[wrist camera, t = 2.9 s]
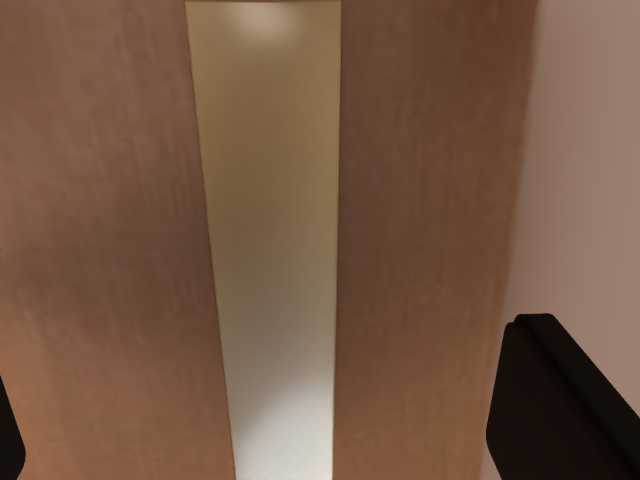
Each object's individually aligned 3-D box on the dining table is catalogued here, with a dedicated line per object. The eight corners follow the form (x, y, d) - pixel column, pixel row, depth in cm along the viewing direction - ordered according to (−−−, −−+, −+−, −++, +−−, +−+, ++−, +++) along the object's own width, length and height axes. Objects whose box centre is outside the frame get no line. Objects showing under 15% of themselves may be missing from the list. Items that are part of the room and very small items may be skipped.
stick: (332, -3, 10) (342, -1, 8) (328, 430, 16) (333, 504, 13) (208, -3, 10) (182, -1, 8) (246, 433, 15) (237, 508, 13)
